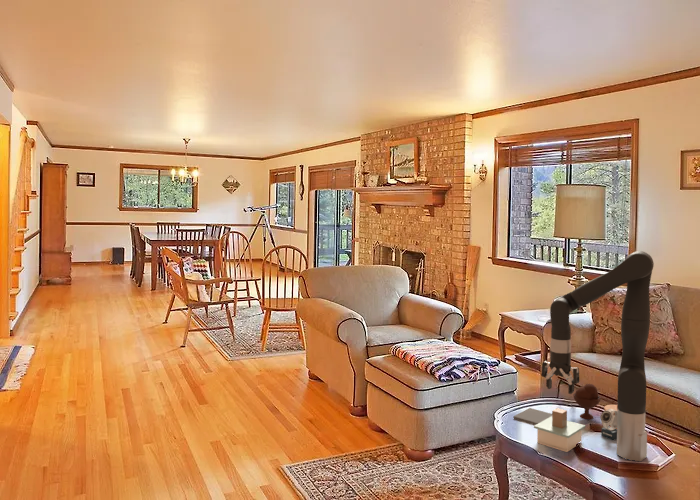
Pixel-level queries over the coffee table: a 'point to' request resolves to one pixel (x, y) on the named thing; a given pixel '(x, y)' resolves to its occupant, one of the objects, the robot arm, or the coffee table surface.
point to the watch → (606, 420)
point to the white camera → (611, 408)
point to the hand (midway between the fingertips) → (559, 390)
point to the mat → (532, 416)
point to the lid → (559, 424)
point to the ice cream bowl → (587, 399)
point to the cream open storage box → (558, 440)
